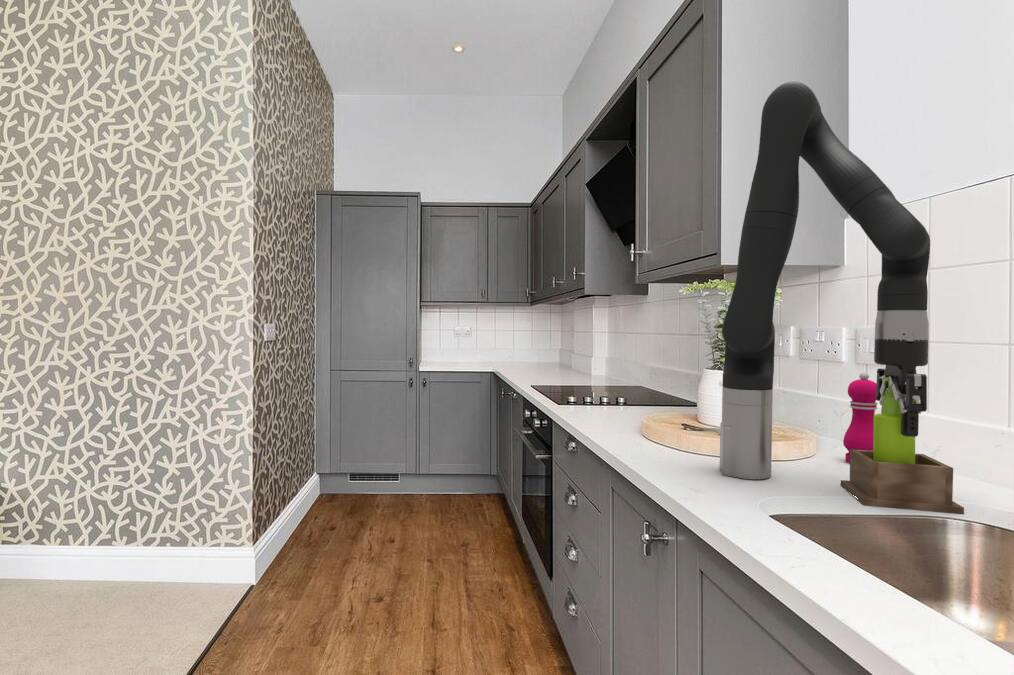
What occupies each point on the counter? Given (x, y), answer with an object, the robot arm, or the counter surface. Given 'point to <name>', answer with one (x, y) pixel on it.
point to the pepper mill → (861, 415)
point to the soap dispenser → (891, 433)
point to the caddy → (902, 483)
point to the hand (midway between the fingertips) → (898, 431)
